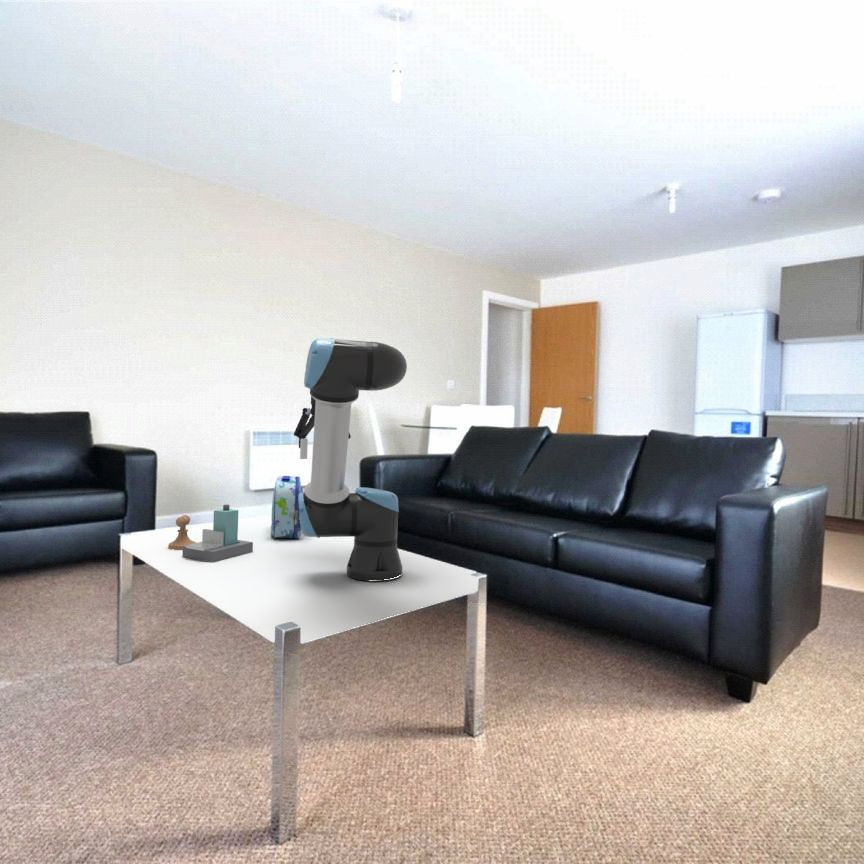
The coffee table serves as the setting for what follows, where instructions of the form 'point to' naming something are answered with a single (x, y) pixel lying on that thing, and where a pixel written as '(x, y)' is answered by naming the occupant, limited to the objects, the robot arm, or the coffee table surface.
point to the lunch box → (286, 507)
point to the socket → (219, 552)
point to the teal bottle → (227, 524)
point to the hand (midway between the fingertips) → (320, 460)
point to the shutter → (208, 540)
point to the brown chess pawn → (181, 534)
